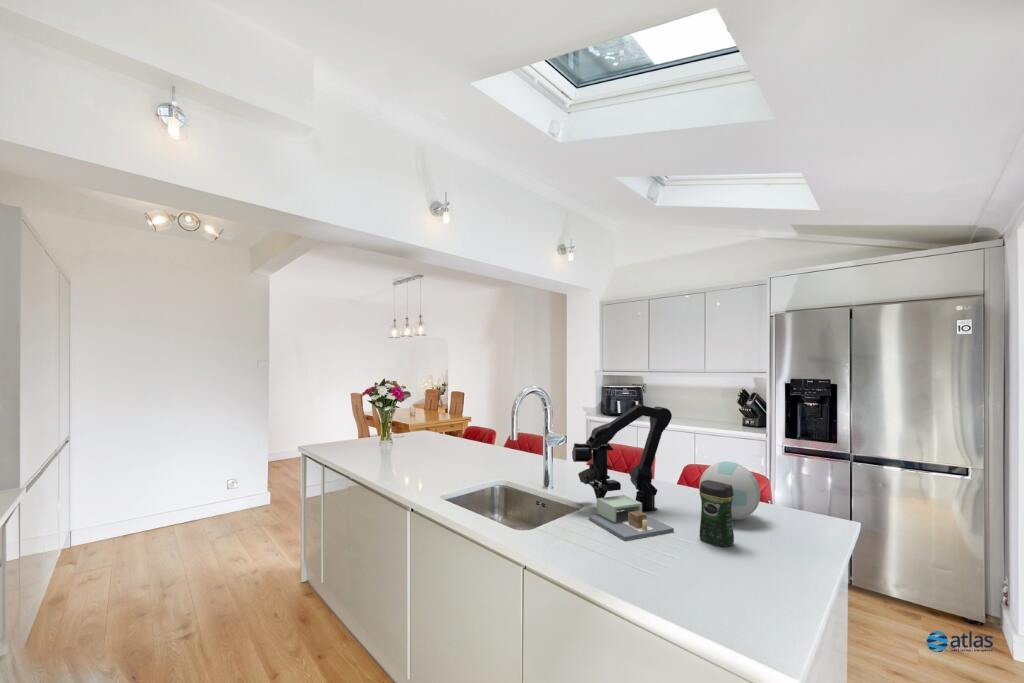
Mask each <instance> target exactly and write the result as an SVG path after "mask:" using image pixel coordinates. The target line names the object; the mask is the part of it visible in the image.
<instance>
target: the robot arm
mask: <svg viewBox="0 0 1024 683" xmlns="http://www.w3.org/2000/svg"><path fill="white" fill-rule="evenodd" d="M642 416H644V417H648V418H649V426H650V428H649V431H648V434H647V438H646V440H645V444H644V448H643V451H642V454H641V457H640V460H639V462H638V464H637V465H636V466H635V465H632V466H631V472H630V473H629V477H630V482H631V484H632V485H633V486H634V487H635V489H636V490H637V491H636V496H635V500H636V501H638V502H641V503H642V512H643V513H646V512H652V511H654V512H655V511H658V508H657V507H656V505H655V504H656V502H655V501H656V496H657V493H658V489H657V488H656V487H655V486H654V485H653V484H652V480H653V470H652V468H653V464H654V460H655V458H656V454H657V451H658V448H659V444H660V442H661V438H662V434H663V432H665V430H666V429H667V427H668V426H669V424H670V421H671V420H672V417H673V414H672V412H671V410H670V409H668V408H666V407H663V406H654V407H651V406H647V405H643V404H640V403H638V404H635V405H634V406H633V407H632V408H630V409H629V410H627V411H625V412H624V413H622V414H621V415H619V416H617V417H616V418H615V419H613V420H612V421H610V422H608V423H604V424H601V425H599V426H597V427H594V428H593V429H592V431H591V434H590V436H589V437H588V439H587V440H586V441H585V443H578V442H577V443H576V442H574V443H573V447H572V451H571V455H572V457H571V458H572V462H574V463H583V462H584V463H589V462H590V461H592V463H590V464H589V465H588V466H589V467H588V468H586V469H583V470H582V471H580V472H578V473H577V475H578V478H579V481H580V483H583V484H584V485H589V486H590V487H591V488H592V489H593V491H594V495H595V498H596V500H597V498H605V496H606V495H607V493H608V492H613V491H620V490H622V484H621V483H620V481H617V480H615V479H611V476H610V475H608V473H609V472H608V469H610V468H611V465H610V464H609V463H608V461H609V457H608V456H609V451H614V448H613V447H612V446H611V444H610V443H609V442H611V440H612V439H613V438H614V437H615V436H616V434H617V433H619V431H622V430H623V429H625V427H627V426H629V425H631V423H633V422H635V421H636V420H638V419H639V418H641V417H642Z"/></svg>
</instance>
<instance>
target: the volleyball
mask: <svg viewBox="0 0 1024 683" xmlns="http://www.w3.org/2000/svg"><path fill="white" fill-rule="evenodd" d="M705 480H711V481H716V482H720V483H724V484H729V485H732V488H733V494H734V499H733V501H732V505H731V513H732V521H733V520H742V519H744V518H747V517H749V516H751V515H752V514H753V513H754V512H755V511H756V510H757V508H758V507H759V503H760V500H761V489H760V485H759V483H758V482H759V481H757V478H756V477H755V476H754V474H753V473H752V472H751V470H749V469H748V468H746V467H745V466H743V465H741V464H739V463H736V462H733V461H720V462H715V463H713V464H712V465H710V466H708V467H707V468H706V469H705V470H704V471H703V473H702V474H701V477H700V478H699V486H698V487H699V488H698V489H699V491H698V492H700V485H701V482H702V481H705Z"/></svg>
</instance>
